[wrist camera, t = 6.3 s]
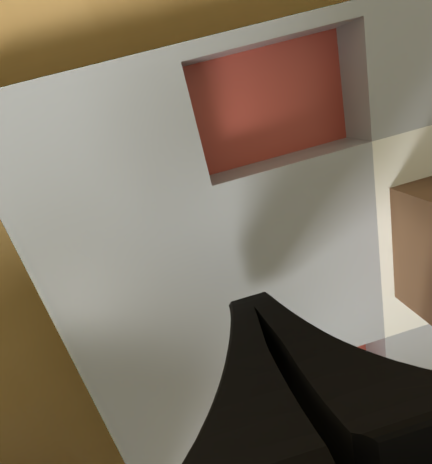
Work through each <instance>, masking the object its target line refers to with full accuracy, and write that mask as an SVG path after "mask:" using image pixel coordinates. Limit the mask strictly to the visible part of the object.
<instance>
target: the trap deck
mask: <svg viewBox="0 0 432 464" xmlns="http://www.w3.org/2000/svg"><path fill="white" fill-rule="evenodd" d="M429 176H432V0H350V1H346V2H342V3H338V4H334V5H330V6H326V7H322V8H318V9H314V10H310V11H306V12H302V13H298V14H294V15H290V16H286V17H282V18H278V19H274V20H270V21H266V22H262V23H258V24H254V25H250V26H246V27H242V28H238V29H234V30H230V31H225V32H221V33H217V34H213V35H209V36H205V37H201V38H197V39H193V40H189V41H185V42H181V43H177V44H173V45H169V46H165V47H161V48H157V49H153V50H149V51H145V52H141V53H137V54H133V55H129V56H125V57H121V58H117V59H113V60H109V61H105V62H101V63H97V64H93V65H88V66H84V67H80V68H76V69H72V70H68V71H64V72H60V73H56V74H52V75H48V76H44V77H40V78H36V79H32V80H28V81H24V82H20V83H16V84H12V85H8V86H4V87H0V220H1V222H2V224H3V225H4V227H5V229H6V231H7V233H8V235H9V237H10V239H11V241H12V243H13V245H14V247H15V249H16V251H17V253H18V255H19V257H20V259H21V261H22V263H23V265H24V267H25V269H26V271H27V272H28V274H29V276H30V278H31V280H32V282H33V284H34V286H35V288H36V290H37V292H38V294H39V296H40V298H41V300H42V302H43V304H44V306H45V308H46V310H47V312H48V314H49V316H50V318H51V319H52V321H53V323H54V325H55V327H56V329H57V331H58V333H59V335H60V337H61V339H62V341H63V343H64V345H65V347H66V349H67V351H68V353H69V355H70V357H71V359H72V361H73V363H74V365H75V367H76V368H77V370H78V372H79V374H80V376H81V378H82V380H83V382H84V384H85V386H86V388H87V390H88V392H89V394H90V396H91V398H92V400H93V402H94V404H95V406H96V408H97V410H98V412H99V414H100V415H101V417H102V419H103V421H104V423H105V425H106V427H107V429H108V431H109V433H110V435H111V437H112V439H113V441H114V443H115V445H116V447H117V449H118V451H119V453H120V455H121V457H122V459H123V461H124V462H125V464H182V462H183V461H184V459H185V457H186V455H187V454H188V452H189V450H190V449H191V447H192V445H193V443H194V442H195V440H196V438H197V436H198V434H199V432H200V429H201V427H202V425H203V423H204V421H205V419H206V417H207V415H208V412H209V410H210V408H211V405H212V403H213V400H214V397H215V394H216V392H217V389H218V386H219V383H220V379H221V376H222V373H223V369H224V365H225V360H226V355H227V350H228V344H229V336H230V322H231V316H230V308H229V304H230V303H231V301H235V300H238V299H241V298H245V297H248V296H252V295H255V294H258V293H262V292H266V293H268V294H269V295H271V296H272V297H273V298H274V299H276V300H277V301H278V302H279V303H281V304H282V305H283V306H285V307H286V308H288V309H289V310H290V311H292V312H293V313H295V314H296V315H298V316H299V317H301V318H302V319H304V320H305V321H307V322H309V323H310V324H312V325H314V326H315V327H317V328H319V329H321V330H322V331H324V332H326V333H328V334H330V335H332V336H334V337H336V338H338V339H340V340H342V341H344V342H347V343H349V344H351V345H353V346H356V347H358V348H361V349H364V350H366V351H369V352H372V353H375V354H377V355H380V356H383V357H386V358H389V359H393V360H396V361H399V362H403V363H406V364H410V365H414V366H417V367H421V368H425V369H430V370H432V326H431V325H430V324H429V323H427V322H426V321H425V320H424V319H422V318H421V317H420V316H418V315H417V314H416V313H415V312H413V311H412V310H411V309H410V308H408V307H407V306H406V305H405V304H403V303H402V302H401V301H400V300H398V299H397V298H396V297H395V290H394V270H393V250H392V229H391V209H390V189H389V188H391V187H395V186H398V185H402V184H405V183H409V182H412V181H415V180H419V179H422V178H426V177H429Z"/></svg>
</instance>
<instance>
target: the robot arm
mask: <svg viewBox="0 0 432 464" xmlns="http://www.w3.org/2000/svg"><path fill="white" fill-rule="evenodd" d="M229 308H230V316H231V322H230V336H229V344H228V350H227V355H226V360H225V365H224V369H223V373H222V376H221V379H220V383H219V386H218V389H217V392H216V394H215V397H214V400H213V403H212V405H211V408H210V410H209V412H208V415H207V417H206V419H205V421H204V423H203V425H202V427H201V429H200V432H199V434H198V436H197V438H196V440H195V442H194V443H193V445H192V447H191V449H190V450H189V452H188V454H187V455H186V457H185V459H184V461H183V462H182V464H432V370H430V369H425V368H421V367H417V366H414V365H410V364H406V363H403V362H399V361H396V360H393V359H389V358H386V357H383V356H380V355H377V354H375V353H372V352H369V351H366V350H364V349H361V348H358V347H356V346H353V345H351V344H349V343H347V342H344V341H342V340H340V339H338V338H336V337H334V336H332V335H330V334H328V333H326V332H324V331H322V330H321V329H319V328H317V327H315V326H314V325H312V324H310V323H309V322H307V321H305V320H304V319H302V318H301V317H299V316H298V315H296V314H295V313H293V312H292V311H290V310H289V309H288V308H286V307H285V306H283V305H282V304H281V303H279V302H278V301H277V300H276V299H274V298H273V297H272V296H271V295H269V294H268V293H266V292H262V293H258V294H255V295H252V296H248V297H245V298H241V299H238V300H235V301H231V303H230V304H229Z"/></svg>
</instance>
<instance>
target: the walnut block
mask: <svg viewBox="0 0 432 464" xmlns="http://www.w3.org/2000/svg"><path fill="white" fill-rule="evenodd" d="M389 189H390V209H391V229H392V250H393V270H394V290H395V297H396V298H397V299H398V300H400V301H401V302H402V303H403V304H405V305H406V306H407V307H408V308H410V309H411V310H412V311H413V312H415V313H416V314H417V315H418V316H420V317H421V318H422V319H424V320H425V321H426V322H427V323H429V324H430V325H431V326H432V176H429V177H426V178H422V179H419V180H415V181H412V182H409V183H405V184H402V185H398V186H395V187H391V188H389Z"/></svg>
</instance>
